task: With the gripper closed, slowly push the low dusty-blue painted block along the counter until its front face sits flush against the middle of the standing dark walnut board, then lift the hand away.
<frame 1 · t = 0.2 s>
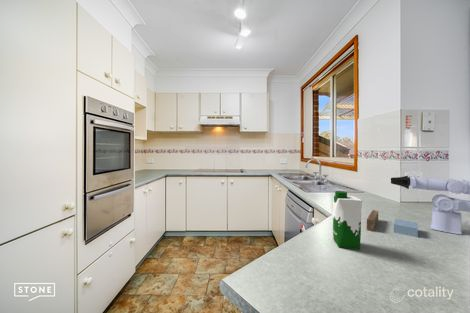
hand: (390, 180, 106), 21 cm above the counter, tool horizontal, fingers open, 7 cm apart
board: (372, 225, 99), on the counter
block: (405, 232, 91), on the counter
milk carton: (346, 245, 77), on the counter
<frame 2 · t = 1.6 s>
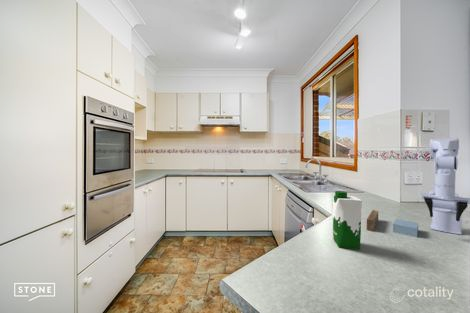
hand: (444, 218, 83), 8 cm above the counter, tool pointing down, fingers open, 7 cm apart
nothing on the counter moved.
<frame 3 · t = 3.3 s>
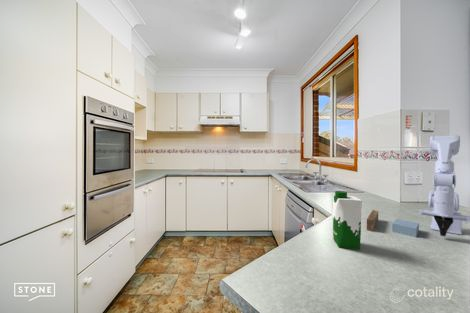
hand: (442, 235, 83), 1 cm above the counter, tool pointing down, fingers closed
nothing on the counter moved.
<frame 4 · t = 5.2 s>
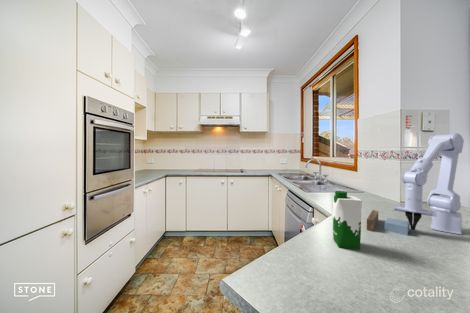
hand: (412, 229, 89), 1 cm above the counter, tool pointing down, fingers closed
block: (397, 230, 93), on the counter
everything else where it was.
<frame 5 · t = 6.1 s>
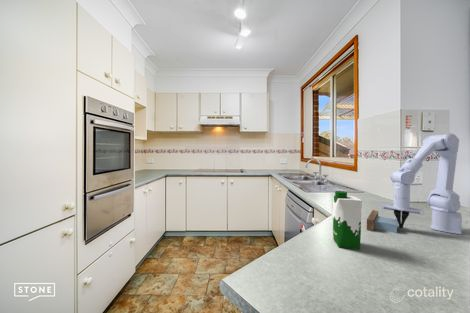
hand: (401, 227, 92), 1 cm above the counter, tool pointing down, fingers closed
block: (386, 228, 95), on the counter
everything else where it was.
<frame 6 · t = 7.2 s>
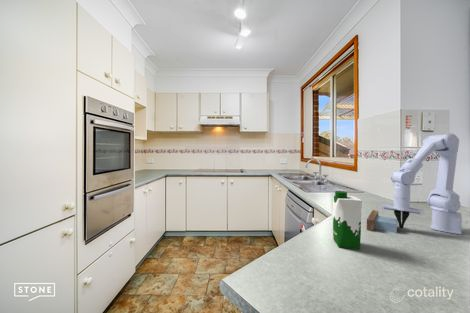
hand: (401, 227, 92), 1 cm above the counter, tool pointing down, fingers closed
nothing on the counter moved.
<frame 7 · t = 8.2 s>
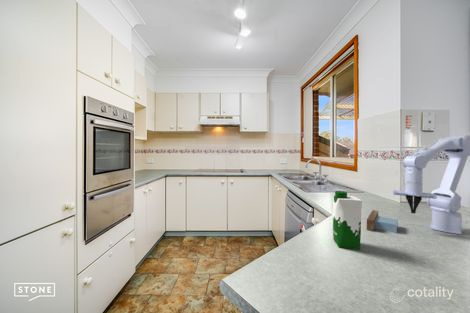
hand: (413, 212, 91), 8 cm above the counter, tool pointing down, fingers closed
nothing on the counter moved.
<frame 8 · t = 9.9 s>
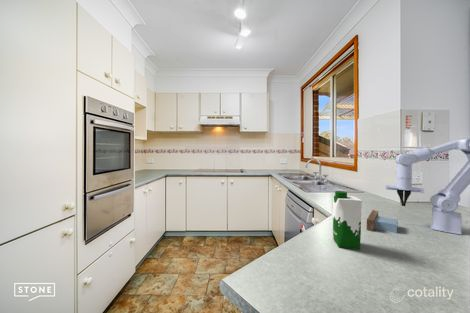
hand: (403, 205, 100), 9 cm above the counter, tool pointing down, fingers closed
nothing on the counter moved.
at the end: block 0.3 cm from the target spot on the counter beside the board, on the counter; block tilted 0°; block moved 7.0 cm from its start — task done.
